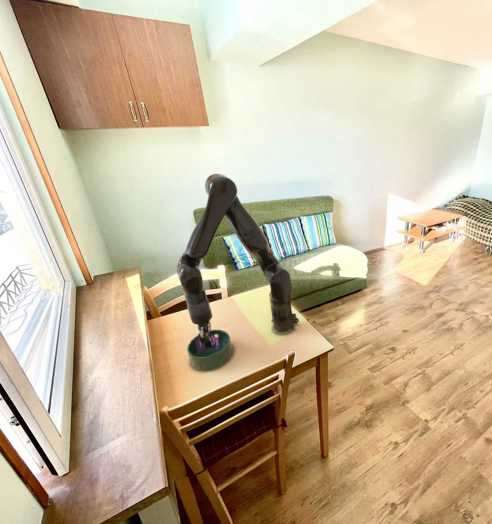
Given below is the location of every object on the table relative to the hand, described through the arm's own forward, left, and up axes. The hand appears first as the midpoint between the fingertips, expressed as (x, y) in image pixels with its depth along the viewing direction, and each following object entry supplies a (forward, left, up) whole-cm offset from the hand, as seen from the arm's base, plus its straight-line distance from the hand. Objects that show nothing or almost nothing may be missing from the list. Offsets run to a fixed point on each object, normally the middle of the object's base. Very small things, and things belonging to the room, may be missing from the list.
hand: (209, 342), depth 114 cm
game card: (0, 0, -3) cm, 3 cm away
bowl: (0, 0, -7) cm, 7 cm away
